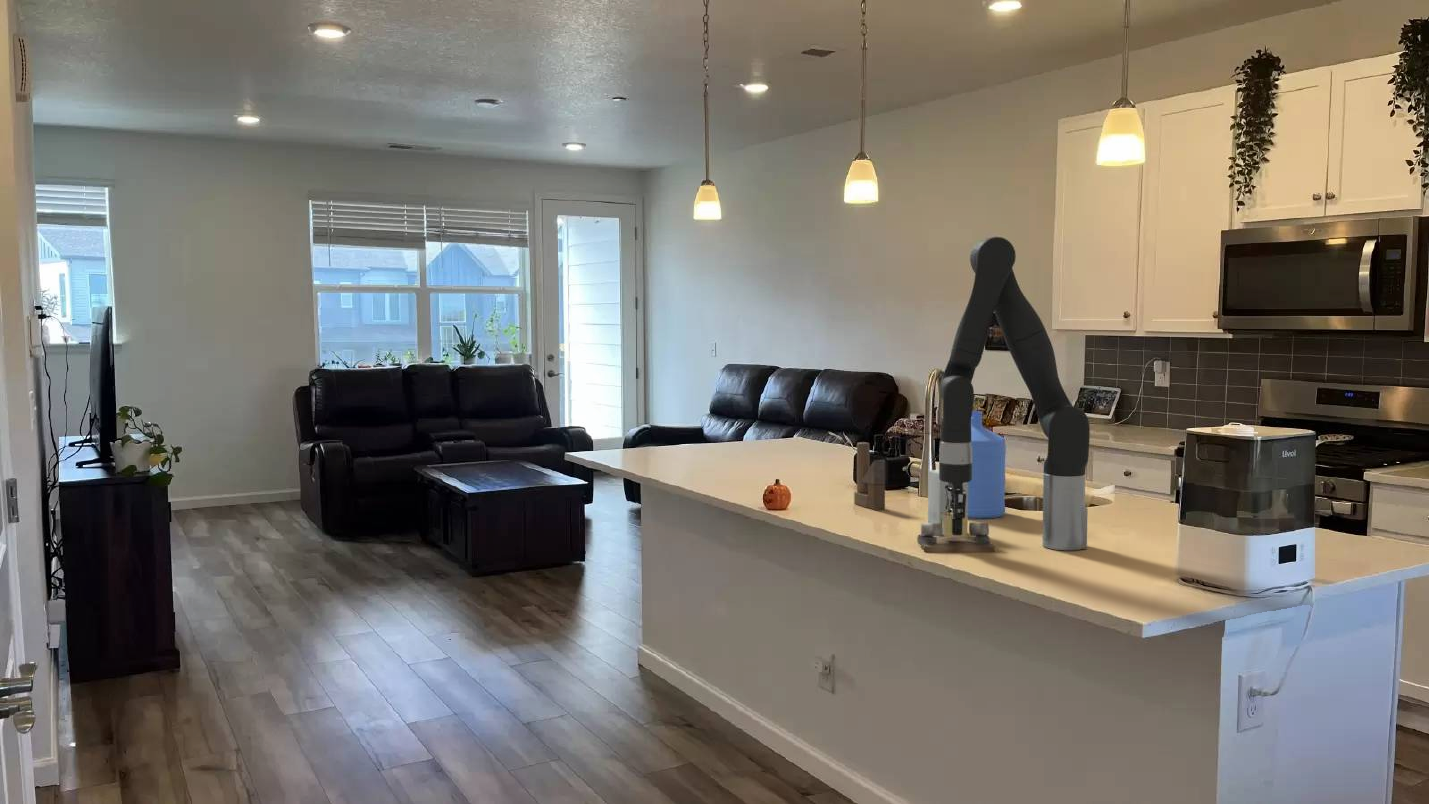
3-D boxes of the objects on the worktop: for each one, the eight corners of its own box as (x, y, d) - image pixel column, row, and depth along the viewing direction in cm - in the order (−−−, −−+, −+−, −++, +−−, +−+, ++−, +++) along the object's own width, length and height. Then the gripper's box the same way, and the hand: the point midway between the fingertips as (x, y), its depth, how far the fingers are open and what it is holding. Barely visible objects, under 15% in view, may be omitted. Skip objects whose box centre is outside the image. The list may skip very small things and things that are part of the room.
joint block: (963, 533, 244) (963, 510, 244) (967, 537, 239) (967, 514, 239) (942, 533, 245) (942, 510, 244) (945, 537, 240) (945, 514, 239)
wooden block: (874, 510, 288) (874, 446, 287) (853, 504, 298) (853, 442, 296) (885, 509, 290) (885, 445, 288) (864, 503, 299) (864, 441, 298)
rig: (984, 541, 247) (984, 518, 247) (994, 552, 236) (994, 527, 236) (915, 541, 248) (915, 518, 248) (922, 552, 237) (922, 527, 237)
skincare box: (938, 536, 254) (939, 473, 253) (926, 531, 260) (926, 469, 259) (969, 534, 256) (969, 471, 255) (956, 528, 262) (956, 468, 261)
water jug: (1008, 520, 273) (1009, 414, 270) (947, 519, 275) (948, 414, 273) (1001, 509, 288) (1002, 409, 286) (944, 508, 291) (944, 409, 288)
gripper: (978, 465, 233) (977, 539, 235) (966, 456, 248) (965, 526, 249) (944, 465, 234) (944, 539, 235) (934, 456, 248) (933, 526, 249)
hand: (954, 532), depth 242 cm, fingers closed on joint block, 5 cm apart
